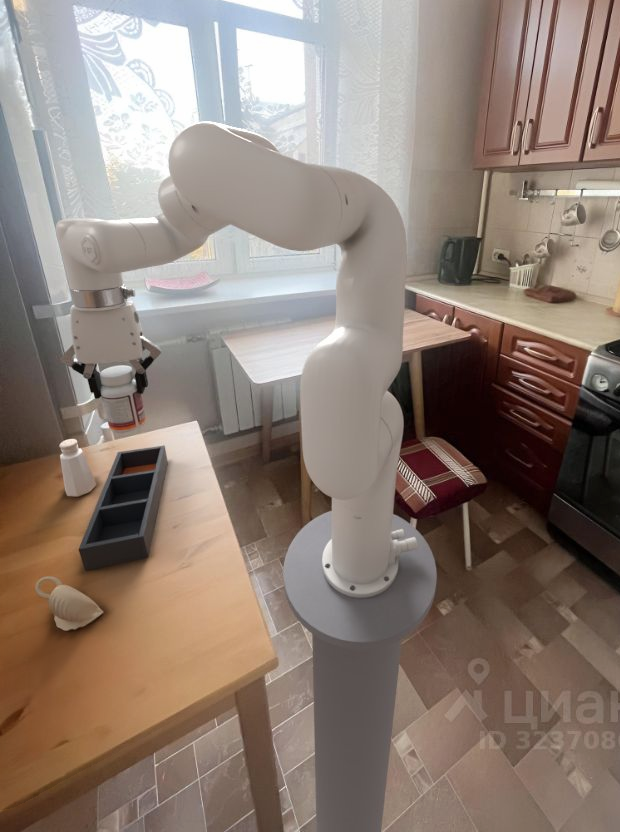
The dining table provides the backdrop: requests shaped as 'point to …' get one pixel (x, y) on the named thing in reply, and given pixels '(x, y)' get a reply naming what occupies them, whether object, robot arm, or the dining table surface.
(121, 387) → the pill bottle
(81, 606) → the decorative ornament
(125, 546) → the compartment tray
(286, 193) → the robot arm
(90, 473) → the salt shaker
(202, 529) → the dining table surface
